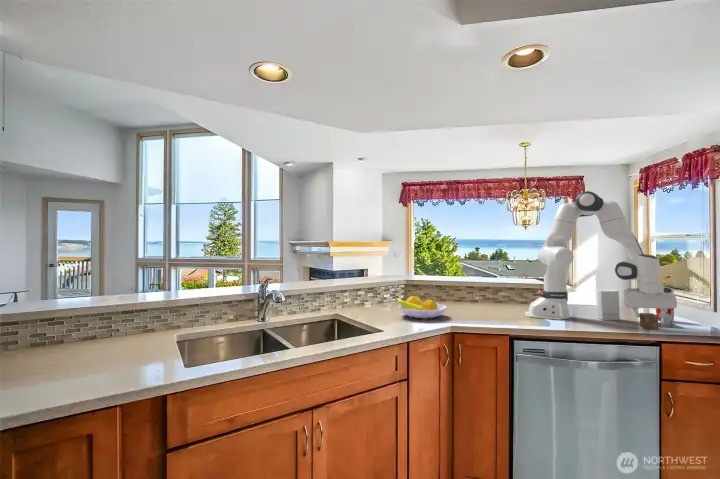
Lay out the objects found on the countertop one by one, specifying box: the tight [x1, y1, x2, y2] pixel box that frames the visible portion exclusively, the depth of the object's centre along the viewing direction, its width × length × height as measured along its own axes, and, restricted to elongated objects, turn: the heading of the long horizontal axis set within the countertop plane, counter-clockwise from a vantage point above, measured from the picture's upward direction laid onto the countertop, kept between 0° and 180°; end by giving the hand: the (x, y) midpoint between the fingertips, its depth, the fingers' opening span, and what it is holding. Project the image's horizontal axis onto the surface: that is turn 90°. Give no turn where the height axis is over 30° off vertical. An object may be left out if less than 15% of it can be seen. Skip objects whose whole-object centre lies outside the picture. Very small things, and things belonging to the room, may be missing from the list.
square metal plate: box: [658, 313, 685, 330], centre depth 172 cm, size 10×10×6 cm
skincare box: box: [596, 289, 621, 322], centre depth 187 cm, size 8×7×16 cm
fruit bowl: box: [395, 295, 447, 319], centre depth 199 cm, size 28×27×11 cm
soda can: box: [655, 308, 675, 323], centre depth 182 cm, size 7×7×12 cm
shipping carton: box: [639, 312, 659, 331], centre depth 167 cm, size 5×5×7 cm
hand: (650, 317), depth 168 cm, fingers open, 8 cm apart
